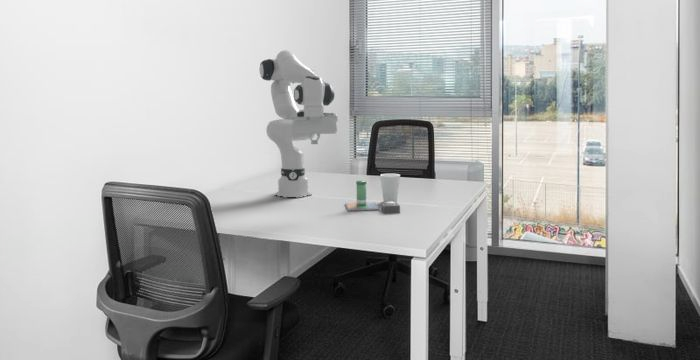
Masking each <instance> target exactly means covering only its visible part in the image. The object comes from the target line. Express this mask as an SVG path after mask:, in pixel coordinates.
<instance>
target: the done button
mask: <svg viewBox="0 0 700 360" xmlns="http://www.w3.org/2000/svg"><path fill="white" fill-rule="evenodd" d="M384 203H385V202H384ZM396 203H397V202H392V201H389V202H386V203H385V205H386V206H393V205H396Z"/></svg>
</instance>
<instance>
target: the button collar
mask: <svg viewBox="0 0 700 360" xmlns="http://www.w3.org/2000/svg"><path fill="white" fill-rule="evenodd" d="M380 207H381V209H380V210H381V212H383V214H391V213H392V214H394V213H395V214H396V213H400V212H401V206H400V204H399V203H398V202H396V205H393V206H386V205H385V202H382V203H381V206H380Z"/></svg>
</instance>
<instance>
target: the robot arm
mask: <svg viewBox="0 0 700 360" xmlns="http://www.w3.org/2000/svg"><path fill="white" fill-rule="evenodd" d="M258 71H259V74H260V75H259V76H260V77H261V78H262V80H263V81H268V82H269V81H273V82H272V83H271V85H270V94H271V100H272V104H273V107H274V108H273V109H274V111H275V113H276V115H277V116H278V118H279V119H275V120H271V121H269V122H268V124H267V126H266V135H267V137H268V139H269V140H271V141H272V142H273V143H274V144H275V145H276V146H277V148H278V149H279V152H280V156H281V157H280V159H281V168H280V175H281V177H280V178H278V182H277V183H278V184H277V185H278V188H277V190H278V191H277V192H276V193H274V196H275V195H277V196H276V197H280V196H283V197H282V198H287V197H296V198H303V196H304V197H308V196H313V193H312V192H311V190H309V182H308V178H307V177H306V174H305V173H306V171H305V169H306V168H305V166H304V165H305V163H304V159H305V158H304V153H303V151H302V150H301V149H299V148H298V147H296V146H294V143H293V141H296V142H297V141H307V140H310V144H311V145H319V142H318V141H319V140H320V138H321V135H322V134H323V135H324V134H325V135H327V134H330V135H331V134H336V133H337V132H338V129H337V128H338V127H337V122H338V115H337V114H336V113H334V112H324V111H325V109H324V108H325V107H326V106H327V107H328V106H329V105H330V104H331V103H332V102H333V101H334V99H335V90H334V88H333V86H331V84H330V83H328V82H325V80H324V79H323V78H321V77H320V76H319V75H318V73H317V72H315V70H313V69H311V68H309V67H308V66H306V65H304V64H303V63H302V62H301V61H300V60H299V58H298V57H297V56H296V55H295V54H294V53H293V52H291V50H287V49H285V50H281V51H280V52H278V53H277V56H276V57H275V58H272V59H271V58H269V59H268V58H267V59H264V60H262V61H261V62H260V64H259V69H258ZM291 83H292V84H296V83H297V85H296V86H295V88H294V89H293V91H292V88H291ZM297 104H298V105H300V106H303V109H299V107H298V105H297ZM324 106H325V107H324ZM315 136H317V138H316V139H313V138H314V137H315ZM307 195H308V196H307Z"/></svg>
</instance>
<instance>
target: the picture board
mask: <svg viewBox="0 0 700 360" xmlns="http://www.w3.org/2000/svg"><path fill="white" fill-rule="evenodd" d="M344 203H345V202H344ZM344 205H345V207H346V210H347V211H348V212H368V211H369V212H373V211H374V212H375V211H380V210H381V209H380V207H379V206H378V205H377V203H375V202H366V206H357V202H346V203H345V204H344Z"/></svg>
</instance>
